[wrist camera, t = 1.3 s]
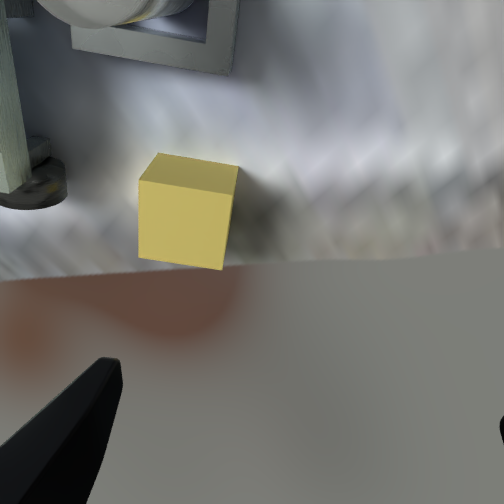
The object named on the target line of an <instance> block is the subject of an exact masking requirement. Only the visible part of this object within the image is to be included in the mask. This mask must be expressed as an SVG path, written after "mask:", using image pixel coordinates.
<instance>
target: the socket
mask: <svg viewBox="0 0 504 504" xmlns="http://www.w3.org/2000/svg"><path fill="white" fill-rule="evenodd" d="M239 4H240V0H209V10H208V22H207V34H206V39H201V38H196V37H190V36H185V35H179V34H174V33H169V32H163V31H158V30H152V29H147V28H141V27H136V26H130V25H125V24H121V25H116V26H110V27H105V28H100V29H85V28H79V27H75V26H72V25H70V27H71V39H72V49H77V50H83V51H88V52H94V53H100V54H105V55H111V56H116V57H122V58H128V59H133V60H139V61H144V62H150V63H156V64H161V65H167V66H172V67H178V68H184V69H189V70H195V71H200V72H206V73H212V74H217V75H223V76H229V74H230V72H231V70H232V63H233V55H234V46H235V38H236V30H237V21H238V13H239Z"/></svg>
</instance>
